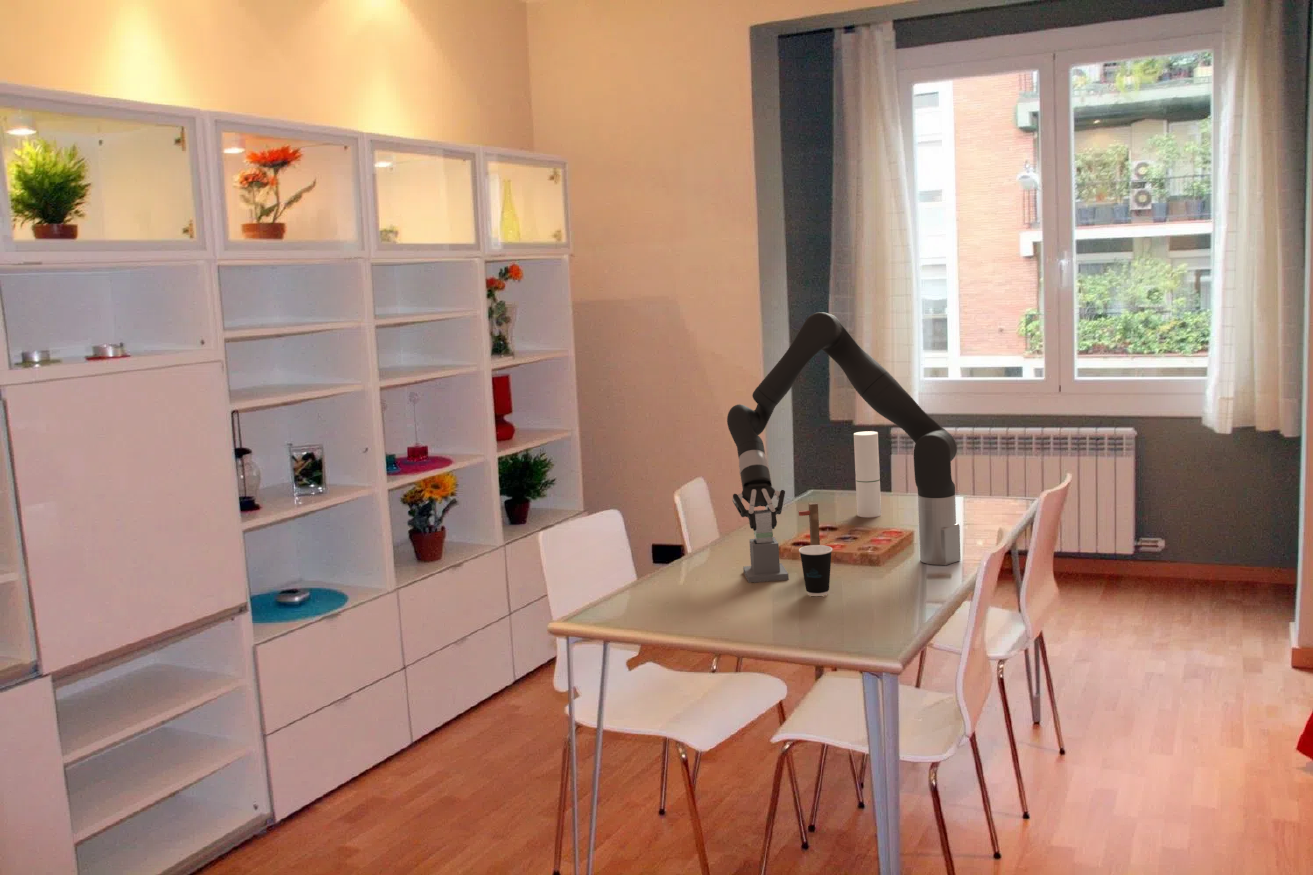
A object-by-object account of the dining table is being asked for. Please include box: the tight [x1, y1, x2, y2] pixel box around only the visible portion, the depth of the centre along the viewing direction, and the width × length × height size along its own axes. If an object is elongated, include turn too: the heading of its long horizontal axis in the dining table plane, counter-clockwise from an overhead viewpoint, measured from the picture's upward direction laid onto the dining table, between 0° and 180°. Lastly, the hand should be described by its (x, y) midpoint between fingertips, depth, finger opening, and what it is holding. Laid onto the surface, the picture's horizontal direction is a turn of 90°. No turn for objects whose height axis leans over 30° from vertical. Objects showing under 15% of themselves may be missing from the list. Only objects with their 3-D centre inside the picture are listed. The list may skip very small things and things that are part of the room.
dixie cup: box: [798, 544, 833, 597], centre depth 271 cm, size 8×8×11 cm
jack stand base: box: [742, 536, 790, 584], centre depth 290 cm, size 10×10×9 cm
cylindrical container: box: [853, 430, 882, 518], centre depth 346 cm, size 7×7×25 cm
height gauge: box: [798, 502, 821, 545], centre depth 290 cm, size 6×4×18 cm
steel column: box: [753, 509, 774, 544], centre depth 289 cm, size 4×4×14 cm
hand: (764, 527), depth 287 cm, fingers closed on steel column, 4 cm apart
